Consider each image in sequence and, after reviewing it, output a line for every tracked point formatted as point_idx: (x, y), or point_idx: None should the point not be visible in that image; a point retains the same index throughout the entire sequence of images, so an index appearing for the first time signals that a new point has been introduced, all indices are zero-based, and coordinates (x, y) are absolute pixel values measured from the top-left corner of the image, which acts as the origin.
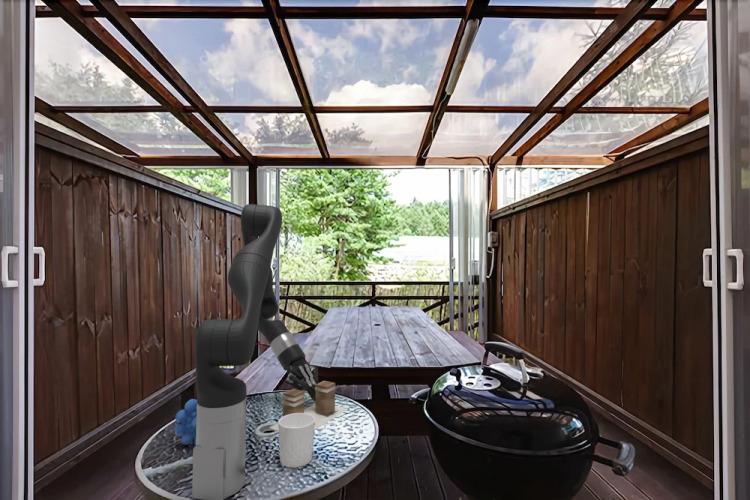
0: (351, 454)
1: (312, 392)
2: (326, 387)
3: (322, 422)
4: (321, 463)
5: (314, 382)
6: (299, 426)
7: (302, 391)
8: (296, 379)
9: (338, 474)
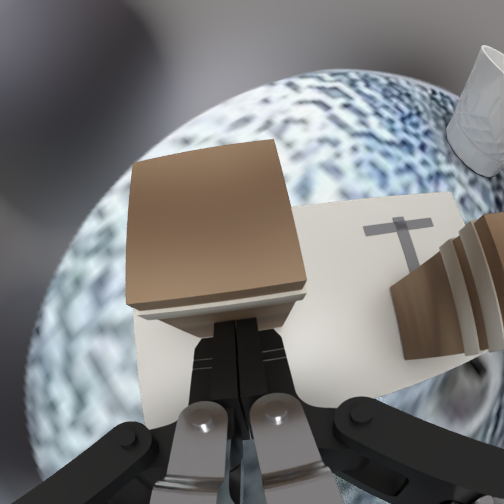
0: (355, 86)
1: (283, 360)
2: (273, 146)
3: (330, 216)
4: (427, 114)
5: (196, 419)
6: (500, 110)
7: (494, 224)
8: (478, 461)
9: (412, 81)
